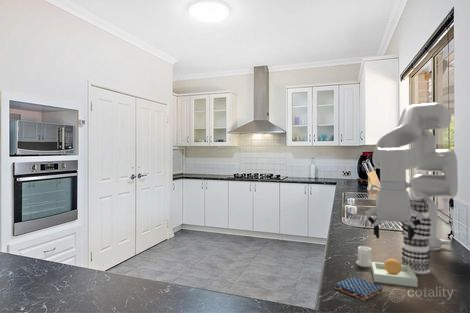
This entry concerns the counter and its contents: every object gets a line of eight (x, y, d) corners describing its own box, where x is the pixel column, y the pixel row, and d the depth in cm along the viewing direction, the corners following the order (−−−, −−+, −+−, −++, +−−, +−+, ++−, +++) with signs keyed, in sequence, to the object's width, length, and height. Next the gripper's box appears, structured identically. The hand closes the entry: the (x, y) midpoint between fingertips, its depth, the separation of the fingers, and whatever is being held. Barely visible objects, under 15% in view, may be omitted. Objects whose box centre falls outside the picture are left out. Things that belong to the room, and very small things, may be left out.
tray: (409, 273, 107) (409, 265, 107) (417, 287, 95) (417, 278, 95) (371, 268, 111) (371, 261, 111) (374, 281, 99) (374, 273, 99)
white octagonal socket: (372, 263, 117) (372, 246, 117) (373, 268, 111) (373, 251, 111) (356, 261, 119) (356, 245, 119) (356, 266, 113) (356, 249, 113)
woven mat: (332, 289, 94) (332, 283, 95) (353, 281, 101) (353, 275, 101) (363, 303, 86) (364, 295, 86) (385, 293, 92) (385, 286, 92)
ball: (400, 272, 104) (399, 257, 104) (402, 277, 100) (402, 262, 100) (383, 270, 106) (383, 255, 106) (385, 276, 101) (385, 260, 101)
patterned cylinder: (394, 266, 113) (394, 196, 113) (413, 263, 116) (413, 195, 116) (417, 275, 104) (417, 200, 104) (437, 272, 108) (437, 198, 108)
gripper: (420, 185, 104) (420, 237, 104) (363, 184, 109) (364, 233, 110) (425, 188, 97) (426, 243, 97) (365, 187, 102) (365, 239, 103)
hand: (393, 238), depth 103 cm, fingers open, 9 cm apart
